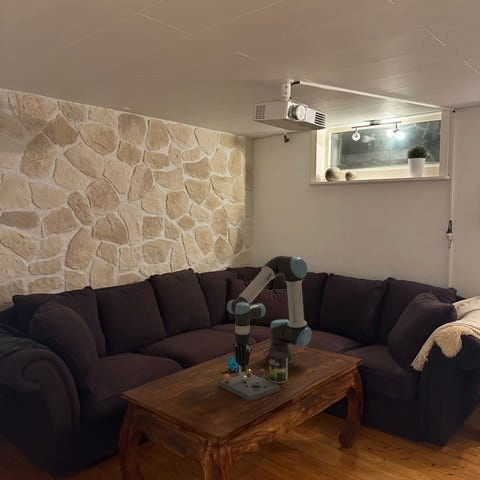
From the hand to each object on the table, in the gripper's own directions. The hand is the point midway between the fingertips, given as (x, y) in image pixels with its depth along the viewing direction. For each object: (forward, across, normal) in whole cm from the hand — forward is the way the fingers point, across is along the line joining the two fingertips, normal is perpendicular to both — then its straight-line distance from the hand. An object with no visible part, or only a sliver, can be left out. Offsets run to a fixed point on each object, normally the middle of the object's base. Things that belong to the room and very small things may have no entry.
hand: (241, 377), depth 233 cm
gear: (+5, -20, +11) cm, 23 cm away
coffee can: (+4, +6, +20) cm, 22 cm away
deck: (+4, +5, 0) cm, 6 cm away
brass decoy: (0, -3, +8) cm, 9 cm away
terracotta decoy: (0, -3, -7) cm, 8 cm away
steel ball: (0, +2, 0) cm, 2 cm away
